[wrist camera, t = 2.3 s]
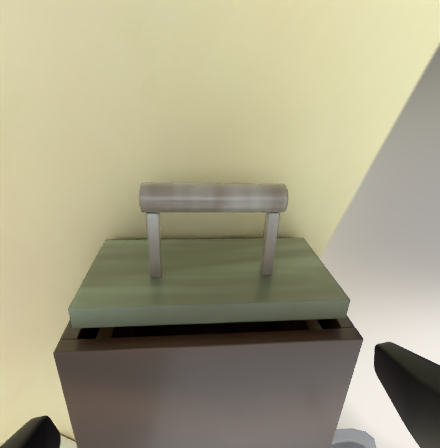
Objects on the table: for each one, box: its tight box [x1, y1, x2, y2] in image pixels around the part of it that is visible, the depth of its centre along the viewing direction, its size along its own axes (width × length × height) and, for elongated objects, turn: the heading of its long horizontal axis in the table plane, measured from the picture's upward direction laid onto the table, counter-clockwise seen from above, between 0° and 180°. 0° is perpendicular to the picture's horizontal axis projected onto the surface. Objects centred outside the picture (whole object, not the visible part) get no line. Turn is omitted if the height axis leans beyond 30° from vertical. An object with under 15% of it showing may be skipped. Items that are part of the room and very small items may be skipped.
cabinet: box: [53, 315, 363, 448], centre depth 22 cm, size 17×15×9 cm
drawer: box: [68, 183, 350, 339], centre depth 20 cm, size 21×13×7 cm, turn 178°
